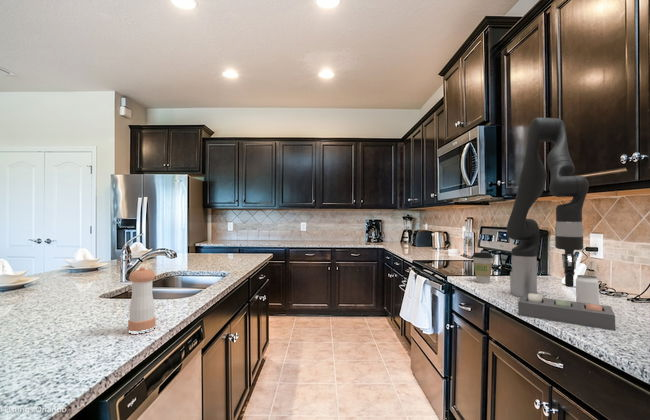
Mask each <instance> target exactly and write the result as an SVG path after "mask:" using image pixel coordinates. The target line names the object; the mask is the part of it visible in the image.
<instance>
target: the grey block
mask: <svg viewBox="0 0 650 420" xmlns="http://www.w3.org/2000/svg"><path fill="white" fill-rule="evenodd" d="M599 289H600V288H599V280H598V278H597V276H593V275H587V274H577V277H576V279H575V302H581V303H589V304H597V305H600V300H599V299H600V297H599V296H600V292H599V291H600V290H599Z"/></svg>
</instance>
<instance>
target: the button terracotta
mask: <svg viewBox="0 0 650 420" xmlns="http://www.w3.org/2000/svg"><path fill="white" fill-rule="evenodd" d="M600 305H601V304H599V305H596V304H586V309H591V310H599V311H602V306H600Z"/></svg>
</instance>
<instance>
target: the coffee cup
mask: <svg viewBox="0 0 650 420" xmlns="http://www.w3.org/2000/svg"><path fill="white" fill-rule="evenodd" d="M471 256H472V258H473V268H474V274H475V281H476V282H477V283H480V284H490V283H491V276H492V269H493V268H492V267H493V259H494V255H493V253H490V252H473V254H472V255H471Z"/></svg>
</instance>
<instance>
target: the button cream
mask: <svg viewBox="0 0 650 420" xmlns="http://www.w3.org/2000/svg"><path fill="white" fill-rule="evenodd" d="M542 298H543V295H542V294H539V293H537V294H535V293H529V294H528V301H532V302H539V303H542Z"/></svg>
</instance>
